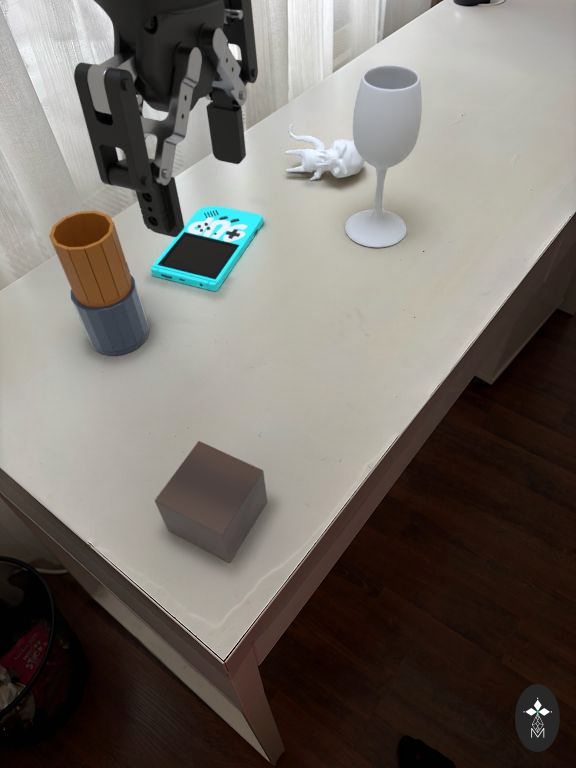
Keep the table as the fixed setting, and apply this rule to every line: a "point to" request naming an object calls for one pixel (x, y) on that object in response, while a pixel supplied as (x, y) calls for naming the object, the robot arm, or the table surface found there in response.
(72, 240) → the orange hollow slatted cylinder
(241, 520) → the block
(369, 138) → the wineglass
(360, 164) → the figurine
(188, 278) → the handheld game console
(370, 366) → the table surface
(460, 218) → the table surface
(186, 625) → the table surface
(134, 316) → the mug
